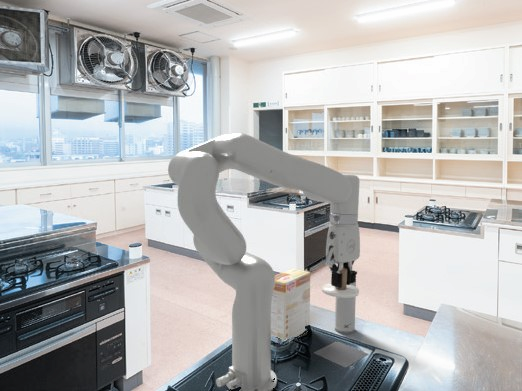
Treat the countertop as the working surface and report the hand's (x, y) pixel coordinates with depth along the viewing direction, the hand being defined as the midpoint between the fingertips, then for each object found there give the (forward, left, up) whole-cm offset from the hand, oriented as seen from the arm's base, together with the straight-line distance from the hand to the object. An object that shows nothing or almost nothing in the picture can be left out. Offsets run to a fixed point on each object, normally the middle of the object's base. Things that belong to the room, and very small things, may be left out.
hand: (340, 284), depth 112 cm
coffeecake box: (-1, +18, -21) cm, 28 cm away
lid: (0, 0, -2) cm, 2 cm away
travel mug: (+15, +8, -21) cm, 27 cm away
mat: (+1, 0, -21) cm, 21 cm away
